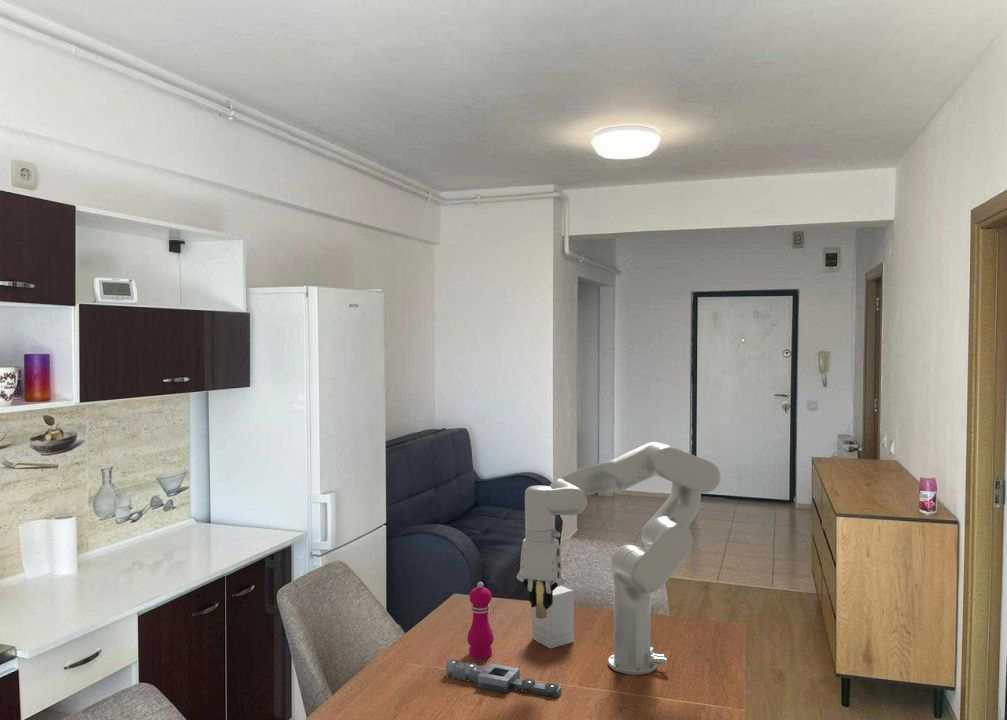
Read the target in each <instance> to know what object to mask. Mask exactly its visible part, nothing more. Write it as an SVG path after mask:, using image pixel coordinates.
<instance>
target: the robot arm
mask: <svg viewBox="0 0 1007 720" xmlns="http://www.w3.org/2000/svg"><path fill="white" fill-rule="evenodd" d="M653 477H659V478H662V479H664V480H666V481H670V482H671V492H670V494H669V496H668V497H667V499H666V500H665V502H664V503H663V504H662V505H661V506H660V507H659V509H658V510H656V512H655V513H654V514H653V515H652V516H651V518H650V519H649V520H648V521H647V522H646V523H645V524H644V525H643V528H642V530H641V533H640V537H641V540H642V543H643V544H644V546H646V547H647V548H648V549H647V550H645V549H644V548H641V547H640V546H637V545H634V544H624V545H621V546H620V547H618V548H617V549H616V550H615V551H614V553H613V554H612V558H611V563H610V565H611V567H610V569H611V575H612V581H613V654H611V655H610V656H609V657H608V658H607V663H608V666H609V668H610V669H612V670H613V671H616V672H618V673H621V674H625V675H632V676H633V675H634V676H636V675H647V674H650V673H652V672H654V671H655V670H656V669H657V665H659V666H664V667H666V666H667V665H668V664H667V663H668V659H667V657H665V655H664V654H661V653H660V654H658V653H656V652H654V647H653V646H651V622H652V621H651V618H652V617H651V607H652V606H651V605H652V604H651V603H652V601H651V600H652V599H651V593H653V592H656V591H657V590H660V588H661V587H663V586H664V585H665V584H666V583H667V582H668V580H669V579H670V578H671V577H672V576H673V575H674V574H675V572H676V571H677V570H678V569H679V568H680V567H681V565H682V564H683V563H684V562H685V561H686V559H687V558H688V557H689V555H690V553H691V551H692V548H693V542H694V540H693V536H692V533H691V532H690V530H689V529H688V527H689V526H690V524H691V523H692V522H693V520H694V519H695V518H696V516H697V515H698V513H699V510H700V508H701V499H702V498H701V496H702V494H708V493H711V492H712V491H714V490H715V489H717V487H719V485H720V481H721V471H720V470H719V468H718V467H717V465H716V464H715V463H713V462H711V461H710V460H707V459H705V458H702V457H701V456H696V455H694V454H692V453H689V452H686V451H684V450H682V449H679V448H677V447H675V446H672V445H669V444H664V443H661V442H657V441H653V442H647V443H645V444H643V445H641V446H638V447H636V448H634V449H631V450H630V451H628V452H625V453H623V454H621V455H619V456H616V457H614V458H613V459H610V460H608V461H603V462H601V463H597V464H593V465H589V466H586V467H583V468H579V469H576V470H574V471H572V472H569V473H567V474H565V475H562V476H561V477H559V478H557V479H555V480H554V481H552V482H551V483H550V484H549V486H548V485H531V486H528V487H527V488H526V490H525V491H524V514H525V515H524V519H525V520H524V521H525V523H524V524H525V525H524V526H525V533H524V534H525V537H524V538H523V540H522V545H521V552H520V561H519V563H520V566H519V570H518V573H517V574H516V579H517V580H518V581H520V582H521V583H523V585H524V586H525V587H526V588H527V591H528V592H529V603H530V604H531V605H530V607H531V608H532V607H535V580H539V581H545V584H546V593H545V594H544V604H545V609H548V608H549V607H550V606H551V605H552V603H553V590H554V589H555V588H556V587H558V586H563V585H565V584H566V582H567V580H566V578H565V576H564V574H563V562H562V561H563V560H562V553H561V552H562V551H561V547H560V542H559V540H558V539H557V538H561V537H560V536H561V532H560V531H558V530H556V526H555V525H556V523H555V521H556V519H555V518H556V515H559V516H577V515H580V514H581V513H583V512H584V510H585V509H586V507H587V504H588V498H587V496H590V495H592V494H593V495H594V494H597V493H618V492H623V491H626V490H628V489H629V488H631V487H634V486H636V485H638V484H640V483H642V482H644V481H647V480H649V479H650V478H653Z"/></svg>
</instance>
